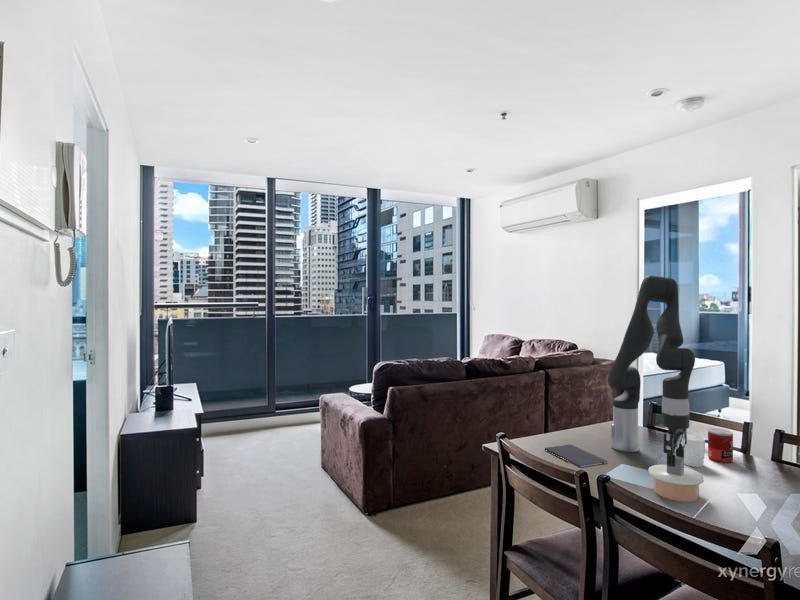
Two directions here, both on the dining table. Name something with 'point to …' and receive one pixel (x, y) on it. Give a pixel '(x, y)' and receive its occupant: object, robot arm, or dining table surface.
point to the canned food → (720, 445)
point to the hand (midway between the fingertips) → (675, 462)
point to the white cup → (694, 451)
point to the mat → (632, 475)
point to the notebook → (576, 455)
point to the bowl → (676, 490)
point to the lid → (676, 473)
